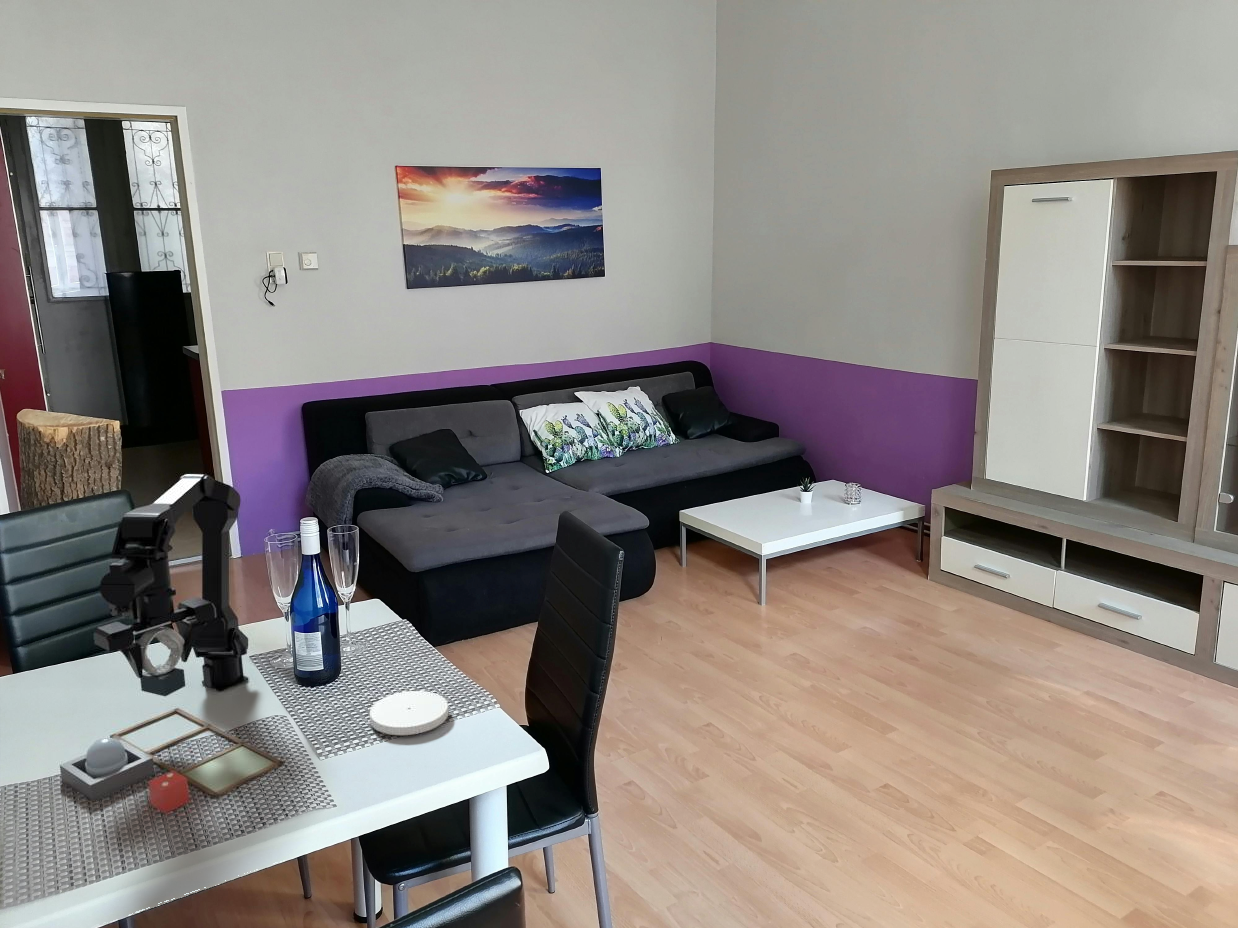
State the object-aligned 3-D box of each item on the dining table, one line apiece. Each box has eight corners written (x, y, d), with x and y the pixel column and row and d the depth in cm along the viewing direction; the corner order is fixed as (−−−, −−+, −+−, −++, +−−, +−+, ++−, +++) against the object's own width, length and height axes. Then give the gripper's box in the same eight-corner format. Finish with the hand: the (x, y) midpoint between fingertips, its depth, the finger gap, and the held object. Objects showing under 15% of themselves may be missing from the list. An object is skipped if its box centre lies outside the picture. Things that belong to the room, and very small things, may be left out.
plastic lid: (464, 716, 176) (463, 704, 176) (406, 748, 165) (405, 735, 164) (412, 696, 184) (411, 684, 184) (354, 725, 173) (353, 712, 173)
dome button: (116, 757, 159) (112, 726, 158) (135, 768, 156) (131, 737, 155) (79, 773, 155) (75, 741, 153) (98, 785, 151) (93, 753, 150)
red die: (175, 792, 151) (172, 769, 150) (189, 801, 149) (186, 777, 148) (151, 804, 148) (148, 780, 147) (165, 813, 146) (162, 789, 145)
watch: (194, 681, 168) (188, 622, 166) (156, 700, 161) (149, 640, 159) (170, 675, 170) (164, 618, 168) (132, 694, 163) (125, 634, 161)
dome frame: (123, 755, 162) (121, 739, 162) (154, 773, 157) (152, 757, 156) (62, 781, 154) (59, 764, 154) (92, 802, 149) (90, 785, 148)
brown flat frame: (177, 709, 178) (177, 707, 178) (283, 763, 160) (283, 761, 160) (110, 737, 168) (109, 735, 168) (214, 798, 150) (214, 795, 150)
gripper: (179, 560, 174) (188, 640, 177) (72, 589, 159) (84, 675, 162) (213, 572, 167) (222, 655, 171) (105, 604, 152) (116, 693, 156)
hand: (162, 669), depth 165 cm, fingers closed on watch, 8 cm apart
